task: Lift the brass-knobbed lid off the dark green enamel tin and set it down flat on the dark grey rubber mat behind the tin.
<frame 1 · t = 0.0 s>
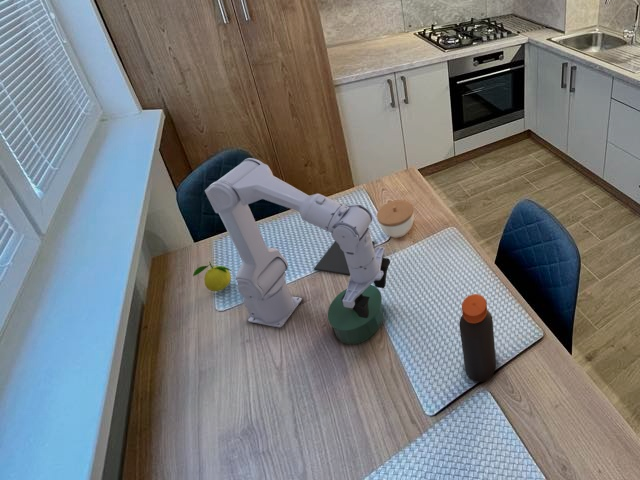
hand: (372, 300, 92), 10 cm above the table, tool pointing down, fingers open, 7 cm apart
lemon: (222, 289, 108), on the table
trinket box: (399, 231, 126), on the table
tin: (359, 321, 98), on the table
tin lid: (355, 306, 96), point 5 cm above the table, touching tin
bottle: (480, 367, 88), on the table
mat: (345, 255, 117), on the table
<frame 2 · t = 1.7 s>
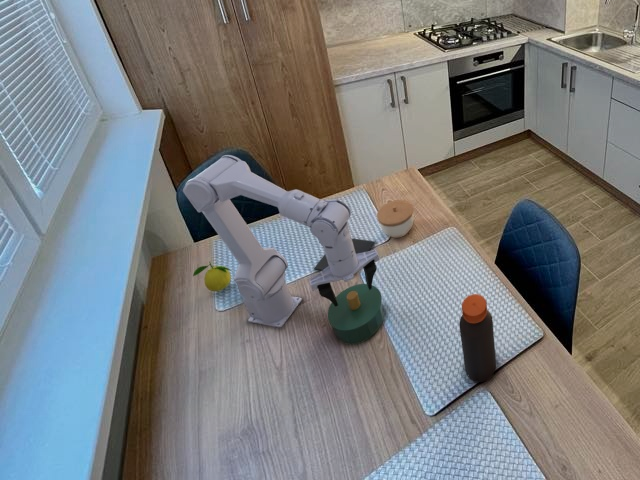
hand: (352, 294, 94), 10 cm above the table, tool pointing down, fingers open, 7 cm apart
nothing on the table moved.
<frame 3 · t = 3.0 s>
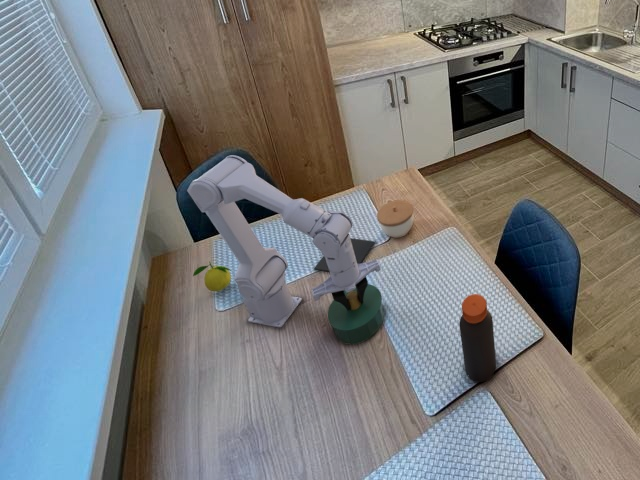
hand: (354, 303, 96), 6 cm above the table, tool pointing down, fingers closed on tin lid, 2 cm apart
tin lid: (355, 306, 96), point 5 cm above the table, touching gripper, tin
everything else where it was.
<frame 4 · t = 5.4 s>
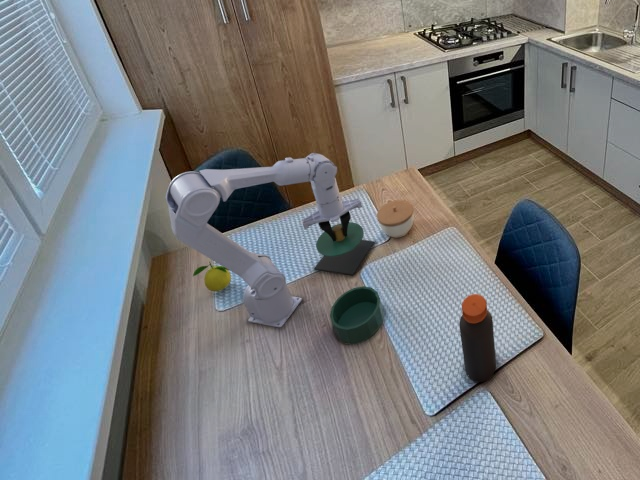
hand: (339, 236, 110), 10 cm above the table, tool pointing down, fingers closed on tin lid, 2 cm apart
tin lid: (340, 239, 110), point 9 cm above the table, touching gripper
everything else where it was.
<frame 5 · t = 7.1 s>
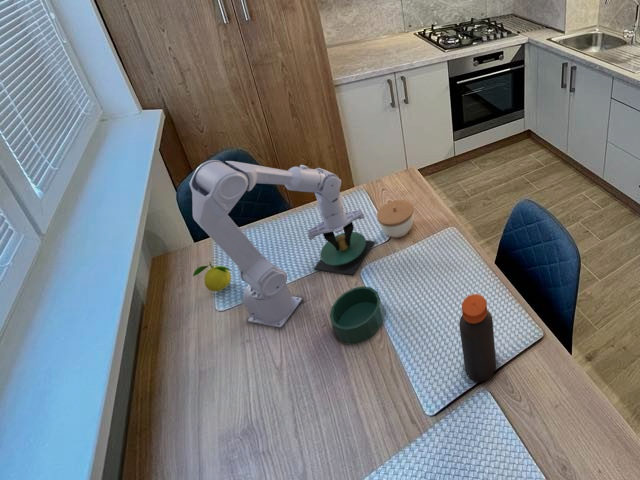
hand: (342, 246, 115), 4 cm above the table, tool pointing down, fingers closed on tin lid, 2 cm apart
tin lid: (343, 248, 116), point 3 cm above the table, touching gripper
everything else where it was.
when the fingers open (2 cm above the table, at t = 7.9 s): tin lid stays where it is, resting on mat.
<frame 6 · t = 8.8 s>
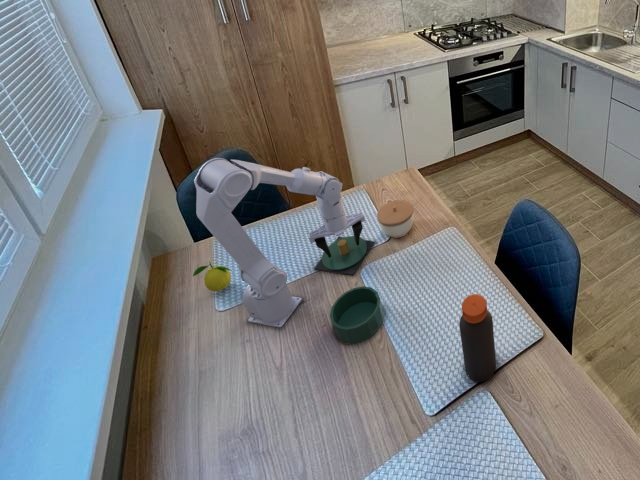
hand: (343, 249, 116), 3 cm above the table, tool pointing down, fingers open, 7 cm apart
tin lid: (345, 252, 117), point 1 cm above the table, touching mat
everything else where it was.
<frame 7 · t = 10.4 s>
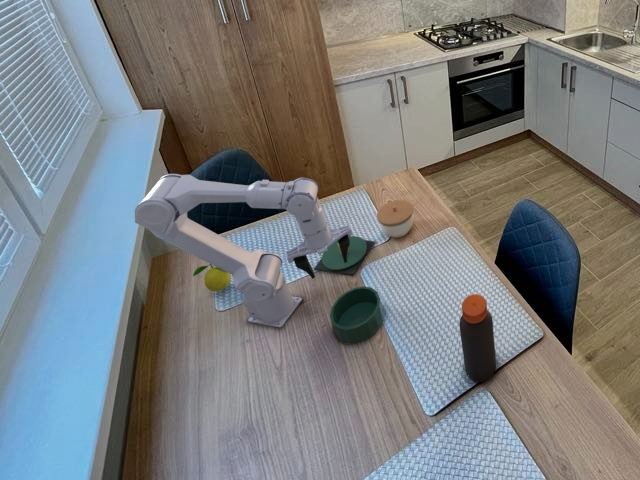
hand: (329, 267, 101), 10 cm above the table, tool pointing down, fingers open, 7 cm apart
nothing on the table moved.
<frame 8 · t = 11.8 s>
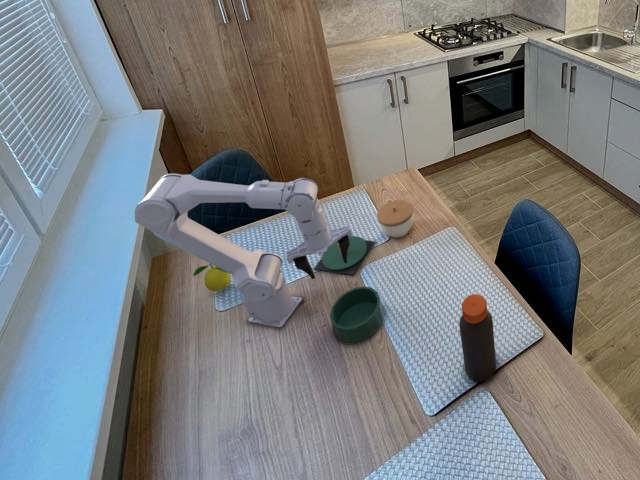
hand: (329, 268, 100), 10 cm above the table, tool pointing down, fingers open, 7 cm apart
nothing on the table moved.
at the end: tin lid inside the target area on the mat (0.0 cm from its centre), point 1.2 cm above the mat's base; tin lid tilted 0°; the gripper is holding nothing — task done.
